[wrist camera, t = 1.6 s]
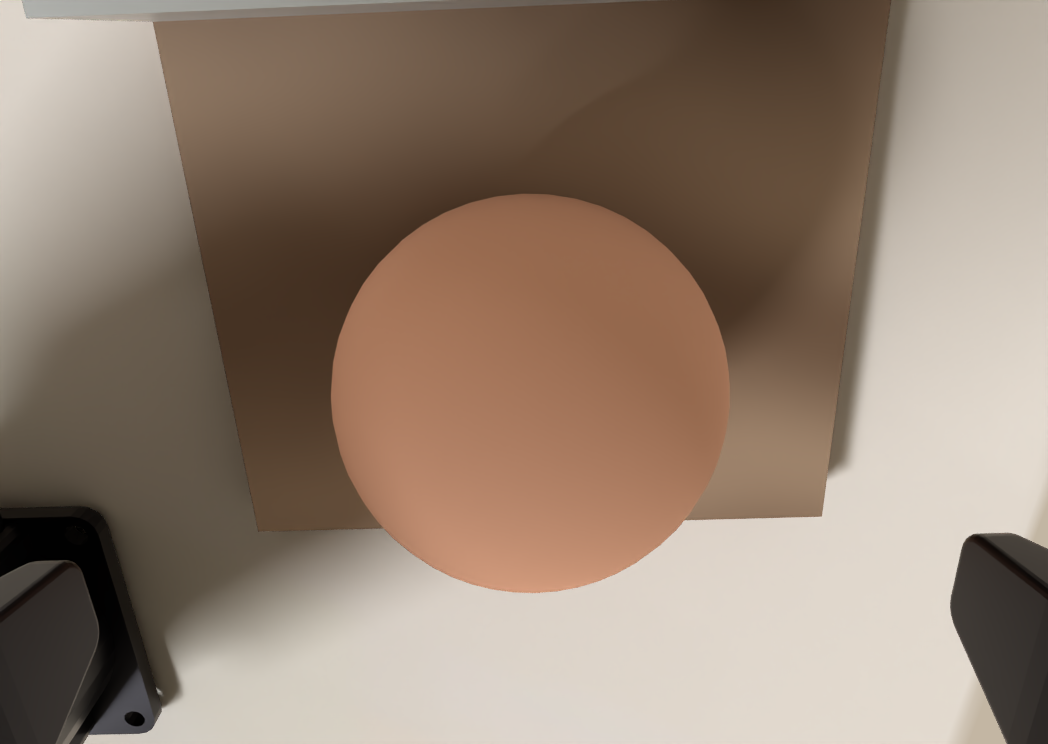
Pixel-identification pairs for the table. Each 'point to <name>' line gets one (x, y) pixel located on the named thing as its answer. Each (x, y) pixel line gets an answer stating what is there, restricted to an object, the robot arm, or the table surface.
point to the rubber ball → (530, 393)
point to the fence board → (521, 189)
